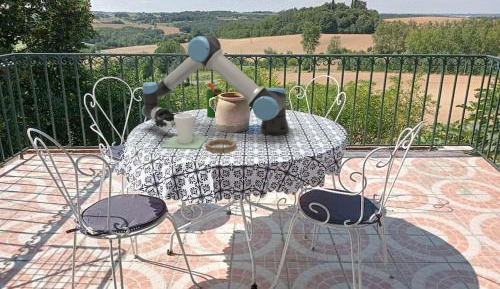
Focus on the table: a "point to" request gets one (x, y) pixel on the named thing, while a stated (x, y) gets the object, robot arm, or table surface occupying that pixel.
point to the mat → (195, 144)
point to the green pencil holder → (210, 94)
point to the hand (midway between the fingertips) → (183, 123)
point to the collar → (220, 149)
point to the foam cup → (184, 127)
